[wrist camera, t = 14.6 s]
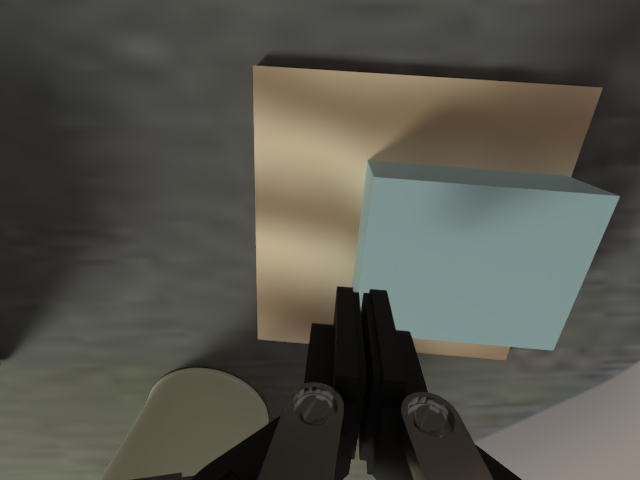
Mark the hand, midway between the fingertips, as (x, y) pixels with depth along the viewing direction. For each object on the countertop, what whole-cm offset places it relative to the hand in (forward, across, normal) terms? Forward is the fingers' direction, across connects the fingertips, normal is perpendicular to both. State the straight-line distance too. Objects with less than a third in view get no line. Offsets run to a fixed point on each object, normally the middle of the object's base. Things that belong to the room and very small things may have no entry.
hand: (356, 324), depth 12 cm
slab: (+6, 0, 0) cm, 6 cm away
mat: (+9, -3, 0) cm, 9 cm away
